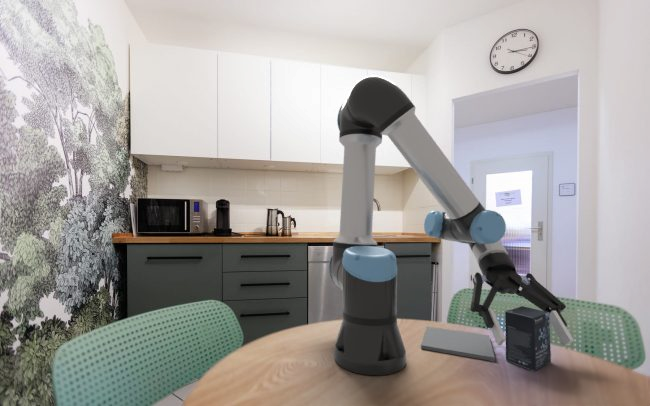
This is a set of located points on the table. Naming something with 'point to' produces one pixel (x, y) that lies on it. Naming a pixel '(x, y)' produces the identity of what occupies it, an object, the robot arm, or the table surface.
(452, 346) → the mat
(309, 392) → the table surface
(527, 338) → the box
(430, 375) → the table surface
